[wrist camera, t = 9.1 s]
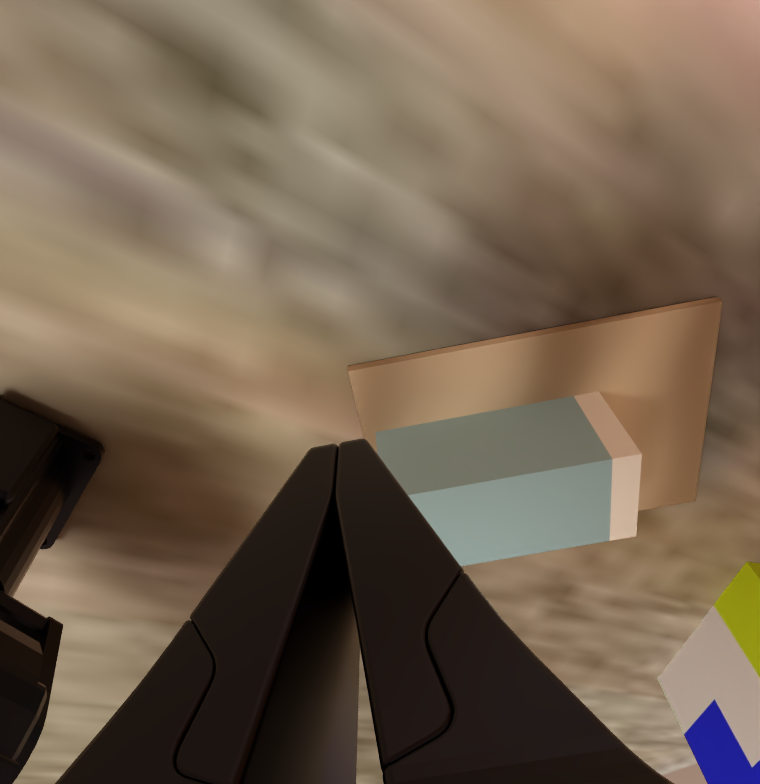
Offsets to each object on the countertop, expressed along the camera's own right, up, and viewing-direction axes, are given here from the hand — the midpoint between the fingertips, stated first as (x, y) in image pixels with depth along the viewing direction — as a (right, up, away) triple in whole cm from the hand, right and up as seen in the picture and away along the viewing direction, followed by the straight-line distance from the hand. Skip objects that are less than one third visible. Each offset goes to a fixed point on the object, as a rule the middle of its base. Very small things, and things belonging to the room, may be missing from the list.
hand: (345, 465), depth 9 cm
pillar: (+10, -2, +14) cm, 17 cm away
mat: (+7, -1, +16) cm, 18 cm away
